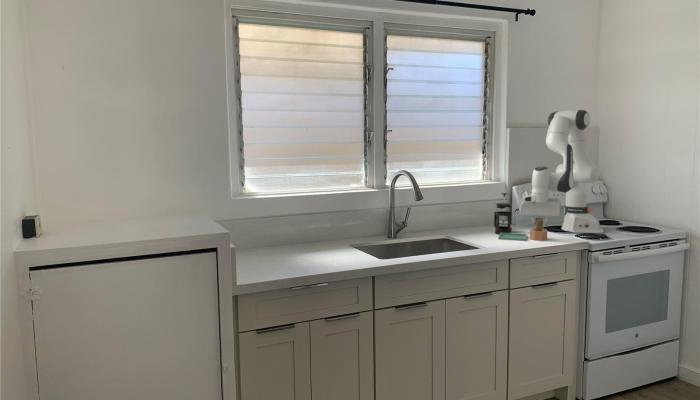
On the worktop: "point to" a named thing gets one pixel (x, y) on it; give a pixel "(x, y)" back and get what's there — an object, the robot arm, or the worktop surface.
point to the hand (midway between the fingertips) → (539, 224)
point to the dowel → (539, 224)
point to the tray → (512, 236)
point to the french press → (503, 213)
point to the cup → (538, 235)
